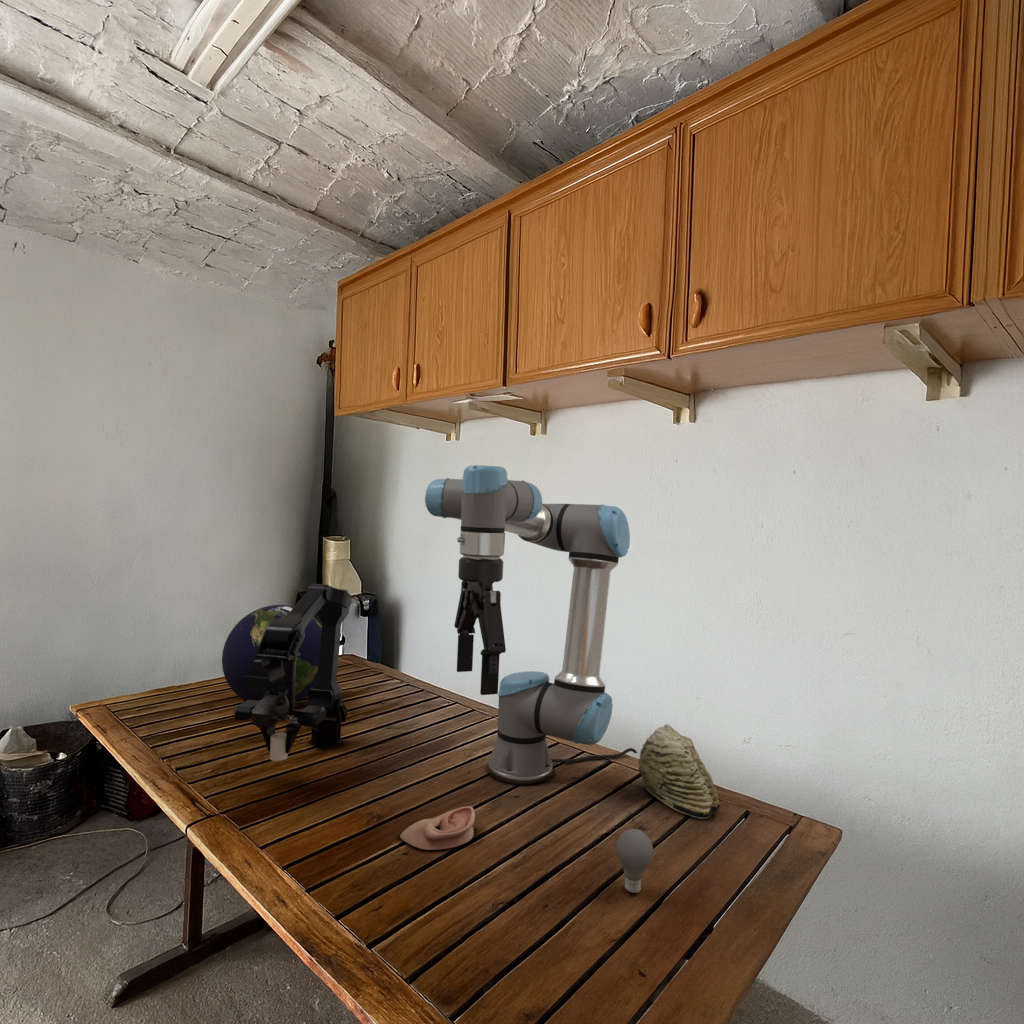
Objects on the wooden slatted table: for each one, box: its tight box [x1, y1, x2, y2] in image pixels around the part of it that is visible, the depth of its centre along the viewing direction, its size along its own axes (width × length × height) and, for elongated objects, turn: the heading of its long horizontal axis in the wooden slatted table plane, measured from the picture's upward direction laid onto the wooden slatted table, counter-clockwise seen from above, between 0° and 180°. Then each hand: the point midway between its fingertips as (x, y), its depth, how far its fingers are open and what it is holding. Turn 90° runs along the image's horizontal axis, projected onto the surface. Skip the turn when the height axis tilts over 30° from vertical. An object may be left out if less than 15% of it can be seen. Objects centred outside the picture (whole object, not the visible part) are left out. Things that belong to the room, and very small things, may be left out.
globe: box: [221, 604, 322, 703], centre depth 188 cm, size 30×30×30 cm
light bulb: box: [615, 828, 654, 894], centre depth 106 cm, size 6×6×10 cm
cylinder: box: [269, 732, 289, 762], centre depth 139 cm, size 4×4×5 cm
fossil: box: [637, 723, 721, 820], centre depth 139 cm, size 9×18×15 cm, turn 46°
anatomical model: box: [399, 805, 476, 851], centre depth 120 cm, size 13×4×12 cm
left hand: (279, 751), depth 139 cm, fingers closed on cylinder, 4 cm apart
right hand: (476, 682), depth 107 cm, fingers open, 13 cm apart
